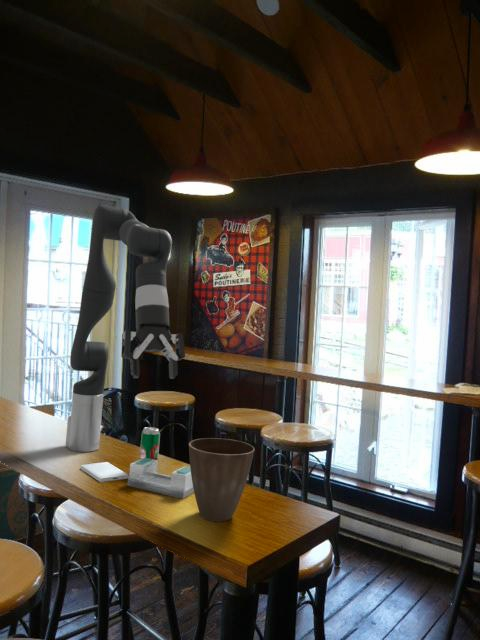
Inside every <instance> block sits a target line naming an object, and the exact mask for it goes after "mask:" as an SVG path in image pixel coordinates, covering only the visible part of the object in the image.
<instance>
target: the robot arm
mask: <svg viewBox="0 0 480 640" xmlns="http://www.w3.org/2000/svg"><path fill="white" fill-rule="evenodd" d="M91 221H92V222H91V230H90V231H91V232H90V241H89V250H88V251H89V252H88V260H87V263H86V265H87V266H86V271H85V276H84V279H83V285H82V290H81V291H82V292H81V301H80V308H79V315H78V319H77V325H76V330H75V334H74V338H73V342H72V346H71V349H70V350H71V352H70V359H69V360H70V361H69V362H70V364H69V365H70V368H71V369H72V370H73V371H78V372H92V374H91V375H89V377H87V378H85V379H83V380H79V381H76V382H75V383H73V386H72V397H71V399H72V400H71V409H70V415H69V416H68V417H67V422H66V423H67V426H66V433H65V434H66V435H65V448H68V449H69V450H70V451H74V452H83V453H84V452H85V453H87V452H94V451H95V452H96V451H97V450H99V448H100V440H101V439H100V438H101V426H102V416H103V406H104V405H103V404H104V392H105V391H104V390H105V385H106V376H107V368H108V361H109V347H108V345H107V343H106V342H103V341H89V340H88V338H89V337H90V334H91V332H92V330H93V329H94V327H96V325H97V324H98V323H99V322H100V321H101V320H102V319H103V318H104V316H106V314H107V313H109V312H110V310H111V308H112V306H113V304H114V299H115V294H116V289H117V283H116V280H115V277H114V274H113V271H112V270H111V268H110V266H109V263H108V262H107V259H106V255H105V251H104V240H109V241H110V240H111V241H119V242H120V241H121V242H122V243H123V244H124V245H125V246H126V247H127V250H128V251H127V252H129V253H130V254H131V255H134V256H138V257H144V258H150V259H151V258H153V259H154V261H152V262H145V263H141V264H139V265H138V266H137V267H136V269H135V298H134V299H135V301H134V302H135V303H134V304H135V329H136V330H135V331H131V330H130V329H126V330H125V331H123V332H122V334H121V353H120V354H121V358H122V359H127V360H129V363H130V375H131V376H132V378H133V379H138V378H140V376H141V373H140V372H141V371H140V369H141V368H140V360H139V357H140V356H141V354H142V353H143V352H144V351H145V352H146V353H149V352H150V353H151V352H154V353H161V354H162V355H163V357H165V358H166V359H167V361H168V362H169V363H168V377H169V379H171V380H172V379H175V378H176V377H177V376H178V375H179V374H178V373H179V371H178V370H179V369H178V368H179V367H178V363H179V362H178V361H181V360H182V359H185V358H186V351H185V342H184V335H183V333H182V332H179V333H177V334H175V333H174V334H173V333H172V334H171V332H170V310H169V308H170V303H169V296H168V290H167V268H168V263H169V259H170V258H169V257H170V253H171V250H172V246H173V239H172V236H171V234H170V233H169V231H168V230H165V229H162V228H155V227H150V226H148V225H147V224H145V223H143V222H142V221H139V220H138V219H137V218H136V216H135V215H134V214H133V213H132V211H129V210H128V209H126V208H121V207H116V206H109V205H101V204H99V205H97V206H96V208H95V209H94V212H93V215H92V220H91ZM134 339H135V340H136V342H137V343H138V345H137V347H135V349H134V350H133V352H131V350H132V349H131V345H132V344H131V343H132V341H133V340H134ZM170 341H172V343H173V344H174V348H173V347H172V345H171V344H170Z"/></svg>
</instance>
